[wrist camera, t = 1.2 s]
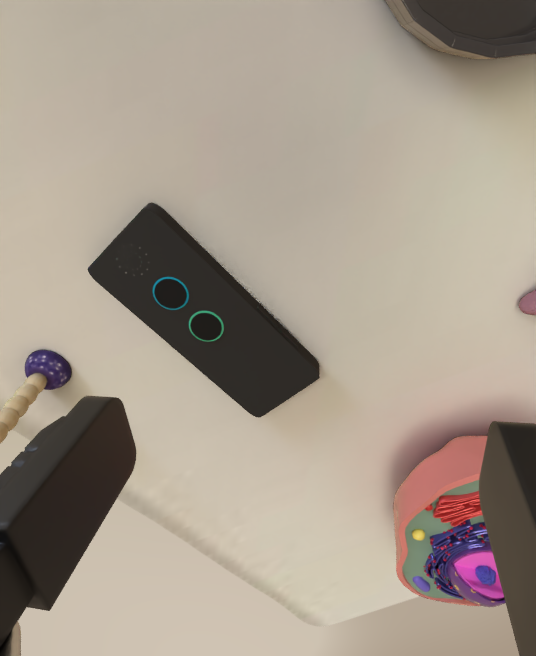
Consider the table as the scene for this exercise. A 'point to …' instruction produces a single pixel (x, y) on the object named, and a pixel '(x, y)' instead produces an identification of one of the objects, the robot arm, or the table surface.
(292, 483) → the table surface
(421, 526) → the cell model
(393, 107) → the table surface
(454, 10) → the pan
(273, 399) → the smart home device
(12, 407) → the toy lamp
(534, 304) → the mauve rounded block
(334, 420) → the table surface
